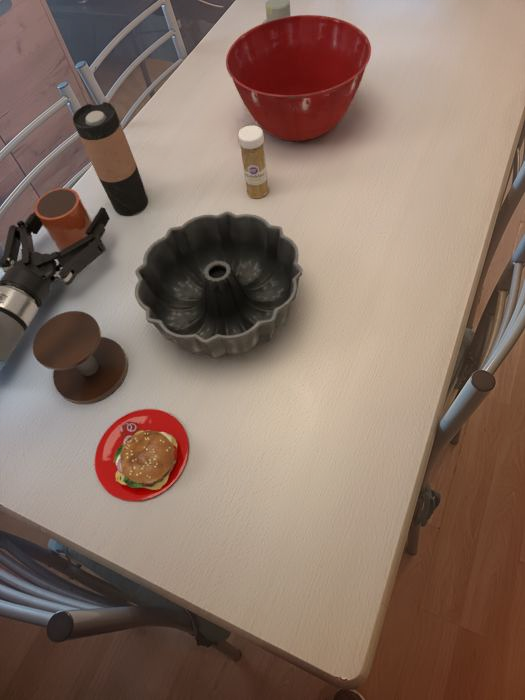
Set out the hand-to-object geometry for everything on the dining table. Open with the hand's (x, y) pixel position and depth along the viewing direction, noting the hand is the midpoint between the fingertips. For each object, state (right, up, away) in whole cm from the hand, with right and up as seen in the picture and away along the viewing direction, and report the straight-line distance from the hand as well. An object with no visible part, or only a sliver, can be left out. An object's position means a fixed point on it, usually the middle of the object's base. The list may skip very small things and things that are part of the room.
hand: (76, 208), depth 95 cm
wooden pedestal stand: (+8, -31, -13) cm, 34 cm away
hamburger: (+18, -42, -22) cm, 51 cm away
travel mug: (+9, +3, +7) cm, 12 cm away
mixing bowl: (+44, +23, +16) cm, 52 cm away
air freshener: (+40, +52, +34) cm, 74 cm away
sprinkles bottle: (+35, +5, +5) cm, 35 cm away
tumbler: (0, -6, +3) cm, 7 cm away
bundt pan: (+29, -20, -9) cm, 37 cm away
